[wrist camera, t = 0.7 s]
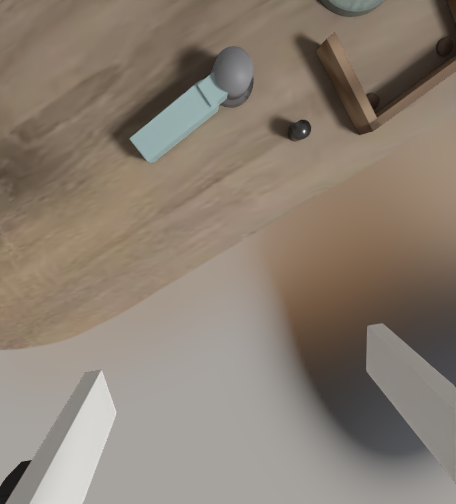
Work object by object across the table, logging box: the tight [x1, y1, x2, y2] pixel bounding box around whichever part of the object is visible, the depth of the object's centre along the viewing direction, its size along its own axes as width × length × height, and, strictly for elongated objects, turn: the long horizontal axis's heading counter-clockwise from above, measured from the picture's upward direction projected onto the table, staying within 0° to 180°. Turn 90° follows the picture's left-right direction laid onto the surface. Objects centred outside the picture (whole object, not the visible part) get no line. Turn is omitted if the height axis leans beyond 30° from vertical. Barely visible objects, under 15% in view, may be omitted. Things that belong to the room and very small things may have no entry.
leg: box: [130, 46, 254, 163], centre depth 29 cm, size 4×15×4 cm, turn 126°
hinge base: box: [210, 64, 311, 141], centre depth 30 cm, size 12×7×2 cm, turn 36°
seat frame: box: [316, 0, 456, 135], centre depth 29 cm, size 11×16×3 cm
